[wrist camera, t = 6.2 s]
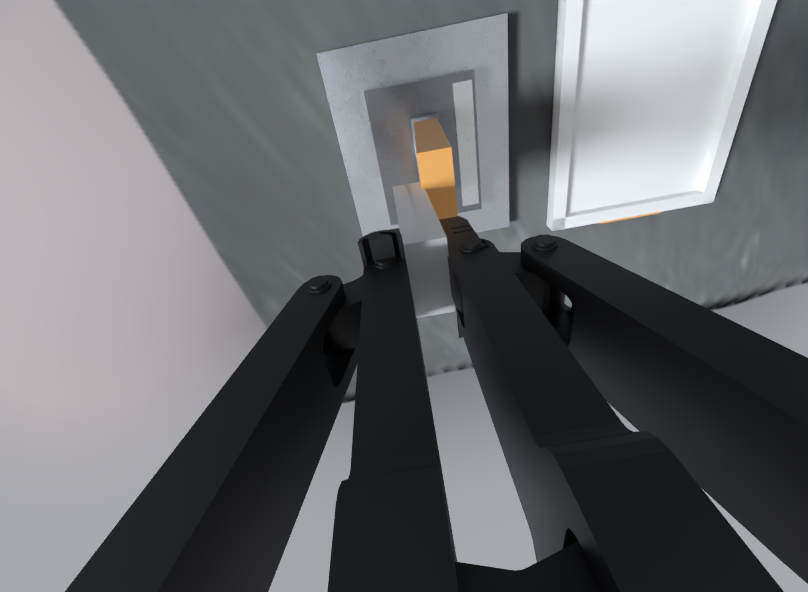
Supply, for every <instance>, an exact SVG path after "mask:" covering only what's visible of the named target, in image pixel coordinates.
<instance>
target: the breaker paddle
mask: <svg viewBox="0 0 808 592" xmlns="http://www.w3.org/2000/svg"><path fill="white" fill-rule="evenodd" d="M410 120H411V127H412V134H413V140H414V147H415V154H416V161H417V168H418V174H419V181H420V182H421V189H425V190H426V193H427V195H428V197H429V199H430V201H431V204H432V206H433V208H434V210H435V212H436V215H437V217H438V219H445V218H450V217H456V216H458V212H457V201H456V190H455V179H454V168H453V158H452V147H451V145H450V143H449V141H448V139H447V137H446V135H445V133H444V131H443V129H442V127H441V125H440V119H439V114H438V113H433V114H426V115H421V116H417V117H413V118H411V119H410Z"/></svg>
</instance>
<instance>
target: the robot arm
mask: <svg viewBox="0 0 808 592" xmlns="http://www.w3.org/2000/svg"><path fill="white" fill-rule="evenodd" d="M393 193H394V199H395V205H396V211H397V217H398V224H399V228H395V229H390V230H380V231H376V232H372V233H369V234H367V235H365V236H363V237H362V238H361V239H360V240H359V241H358V246H359V249H360V253H361V257H362V261H363V265H364V274H363V276H361V277H360V278H358V279H356V280H354V281H352V282H349V283H346V284H342V281H341V279H340V278H339V277H337V276H332V275H326V276H317V277H314V278H312V279H310V280H309V281H307V282H305V283H304V284H303V285H302V286H301V287H299V289H298V290H297V291H296V293H295V294H294V295H293V297H292V298H291V299H290V300H289V302H288V303H287V304H286V306H285V307H284V308H283V309H282V311H281V312H280V313H279V315H278V316H277V317H276V319H275V320H274V321H273V322H272V324H271V325H270V326H269V328H268V329H267V330H266V332H265V333H264V334H263V335H262V337H261V338H260V339H259V341H258V342H257V343H256V345H255V346H254V347H253V348H252V350H251V351H250V352H249V354H248V355H247V356H246V357H245V359H244V360H243V361H242V363H241V364H240V365H239V367H238V368H237V369H236V370H235V372H234V373H233V374H232V376H231V377H230V378H229V380H228V381H227V382H226V384H225V385H224V386H223V387H222V389H221V390H220V391H219V393H218V394H217V395H216V397H215V398H214V399H213V400H212V402H211V403H210V404H209V405H208V407H207V408H206V410H205V411H204V412H203V413H202V415H201V416H200V417H199V418H198V420H197V421H196V422H195V424H194V425H193V426H192V427H191V429H190V430H189V432H188V433H187V434H186V435H185V437H184V438H183V439H182V440H181V442H180V443H179V444H178V446H177V447H176V448H175V450H174V451H173V452H172V453H171V455H170V456H169V457H168V459H167V460H166V461H165V462H164V464H163V465H162V467H161V468H160V469H159V470H158V472H157V473H156V474H155V476H154V477H153V478H152V479H151V481H150V482H149V483H148V485H147V486H146V487H145V488H144V490H143V491H142V492H141V494H140V495H139V496H138V498H137V499H136V500H135V502H134V503H133V504H132V505H131V507H130V508H129V509H128V510H127V512H126V513H125V514H124V516H123V517H122V518H121V520H120V521H119V522H118V524H117V525H116V526H115V527H114V529H113V530H112V531H111V533H110V534H109V535H108V536H107V538H106V539H105V540H104V542H103V543H102V544H101V545H100V547H99V548H98V549H97V551H96V552H95V553H94V555H93V556H92V557H91V558H90V560H89V561H88V562H87V564H86V565H85V566H84V568H83V569H82V570H81V572H80V573H79V574H78V575H77V577H76V578H75V579H74V581H73V582H72V583H71V584H70V586H69V587H68V588H67V590H66V591H65V592H268V591H269V588H270V586H271V583H272V581H273V578H274V575H275V573H276V570H277V568H278V565H279V563H280V560H281V558H282V555H283V552H284V550H285V547H286V545H287V542H288V540H289V537H290V535H291V532H292V529H293V527H294V524H295V522H296V519H297V517H298V514H299V511H300V509H301V506H302V504H303V501H304V499H305V496H306V494H307V491H308V488H309V486H310V483H311V480H312V478H313V475H314V473H315V470H316V468H317V465H318V463H319V460H320V458H321V455H322V453H323V450H324V448H325V445H326V442H327V440H328V437H329V435H330V432H331V430H332V427H333V424H334V422H335V419H336V417H337V414H338V411H339V409H340V407H341V404H342V401H343V399H344V396H345V394H346V391H347V389H348V386H349V384H350V381H351V378H352V376H353V373H354V371H355V368H356V366H357V363H358V366H357V381H356V396H355V412H354V427H353V443H352V458H351V471H350V475H349V478H348V479H347V480H344V481H342V482H341V484H340V487H339V490H338V495H337V501H336V509H335V520H334V530H333V540H332V552H331V561H330V572H329V583H328V592H783V590H782V589H781V588H780V586H779V585H778V584H777V583H776V582H775V580H774V579H773V578H772V577H771V575H770V574H769V573H768V572H767V570H766V569H765V568H764V567H763V565H762V564H761V563H760V561H759V560H758V559H757V558H756V556H755V555H754V554H753V553H752V551H751V550H750V549H749V548H748V546H747V545H746V544H745V543H744V541H743V540H742V539H741V538H740V536H739V535H738V534H737V533H736V531H735V530H734V529H733V528H732V526H731V525H730V524H729V523H728V521H727V520H726V519H725V518H724V516H723V515H722V514H721V513H720V511H719V510H718V509H717V507H716V506H715V505H714V504H713V503H712V501H711V500H710V499H709V497H708V496H707V495H706V494H705V492H707V493H708V494H709V495H710V496H711V497H712V498H713V499H714V500H715V501H716V502H717V503H719V504H720V505H721V506H722V507H723V508H724V509H725V510H726V511H727V512H728V513H730V514H731V515H732V516H733V517H734V518H735V519H736V520H737V521H738V522H739V523H741V524H742V525H743V526H744V527H745V528H746V529H747V530H748V531H749V532H750V533H751V534H752V535H754V536H755V537H756V538H757V539H758V540H759V541H760V542H761V543H762V544H763V545H765V546H766V547H767V548H768V549H769V550H770V551H771V552H772V553H773V554H774V555H776V556H777V557H778V558H779V559H780V560H781V561H782V562H783V563H784V564H786V565H787V566H788V567H789V568H790V569H791V570H793V571H794V572H795V573H796V574H797V575H798V576H799V577H801V578H802V579H803V580H804V581H805V582H806V583H808V358H807V357H805V356H803V355H800V354H798V353H796V352H794V351H792V350H790V349H788V348H786V347H784V346H782V345H780V344H778V343H776V342H774V341H772V340H770V339H768V338H766V337H763V336H762V335H760V334H758V333H756V332H754V331H751V330H749V329H747V328H745V327H743V326H741V325H739V324H737V323H735V322H733V321H731V320H729V319H727V318H725V317H723V316H721V315H719V314H717V313H715V312H713V311H711V310H709V309H707V308H704V307H702V306H700V305H698V304H696V303H694V302H692V301H690V300H688V299H686V298H684V297H682V296H680V295H678V294H676V293H674V292H672V291H670V290H668V289H666V288H664V287H662V286H660V285H658V284H655V283H653V282H651V281H649V280H647V279H645V278H643V277H641V276H639V275H637V274H635V273H633V272H631V271H629V270H627V269H625V268H623V267H621V266H619V265H617V264H615V263H613V262H611V261H608V260H606V259H604V258H602V257H600V256H598V255H596V254H594V253H592V252H590V251H588V250H586V249H584V248H582V247H580V246H578V245H576V244H574V243H572V242H570V241H568V240H566V239H563V238H560V237H557V236H550V235H544V236H543V235H538V236H535V237H531V238H528V239H526V240H524V241H523V242H522V243H521V252H499V251H498V250H497V249H496V247H495V246H494V244H493V243H492V242H490V241H489V240H485V239H479V237H478V235H477V234H476V232H475V231H474V230H473V228H472V226H471V225H470V223H469V222H468V220H467V219H465V218H462V217H460V216H456V217H450V218H445V219H438V217H437V215H436V212H435V210H434V208H433V206H432V204H431V201H430V199H429V197H428V195H427V193H426V190H425V189H421V182H415V183H410V184H404V185H399V186H393ZM565 295H566V296H567V297H569V299H570V301H571V302H572V307H571V308H570V307H568V306H567V305H566V304H564V301H565ZM453 301H454V302H453ZM454 303H455V306H456V312H457V322H458V331H459V338H462V337H463V338H464V340H465V343H466V346H467V349H468V352H469V355H470V358H471V361H472V363H473V366H474V369H475V372H476V375H477V378H478V381H479V384H480V387H481V389H482V392H483V395H484V398H485V401H486V404H487V407H488V409H489V412H490V415H491V418H492V421H493V424H494V427H495V430H496V432H497V435H498V438H499V441H500V444H501V447H502V450H503V452H504V456H505V458H506V461H507V464H508V467H509V470H510V473H511V476H512V478H513V482H514V484H515V487H516V490H517V493H518V496H519V499H520V502H521V504H522V508H523V510H524V513H525V516H526V519H527V522H528V525H529V528H530V531H531V535H532V539H533V544H534V549H535V554H536V560H537V563H535V564H533V565H532V566H530V567H528V568H526V569H523V570H517V571H514V570H506V569H500V568H493V567H487V566H480V565H473V564H467V563H460V562H457V558H456V553H455V546H454V541H453V535H452V529H451V523H450V517H449V511H448V505H447V498H446V492H445V486H444V480H443V474H442V469H441V463H440V457H439V450H438V445H437V439H436V432H435V427H434V420H433V414H432V408H431V403H430V397H429V391H428V384H427V378H426V372H425V366H424V360H423V354H422V348H421V342H420V336H419V330H418V324H417V319H416V318H420V317H425V316H431V315H437V314H443V313H449V312H454ZM607 402H608V403H609V404H610V405H611V406H612V407H614V408H615V409H616V410H617V411H618V412H619V413H620V414H621V415H622V416H624V417H625V418H626V419H627V420H628V421H629V422H630V423H631V424H632V425H633V426H634V427H635V428H637V429H638V430H639V431H640V432H632V431H630V430H629V429H627V428H626V427H625V426H624V424H623V423H622V422H621V421H620V419H619V418H618V416H617V415H616V414H615V412H614V411H613V410H612V409H611V407H610V405H609V404H608V403H607ZM701 488H702V489H703V490H704V491H705V492H704V491H703V490H702V489H701Z"/></svg>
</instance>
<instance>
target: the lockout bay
mask: <svg viewBox="0 0 808 592" xmlns="http://www.w3.org/2000/svg"><path fill="white" fill-rule="evenodd" d="M776 2H777V0H559V2H558V21H557V40H556V58H555V77H554V96H553V115H552V134H551V153H550V172H549V191H548V209H547V226H548V227H549V228H550V229H551V230H552V231H555V230H561V229H566V228H572V227H578V226H583V225H589V224H594V223H599V224H602V223H608V222H613V221H619V220H624V219H630V218H636V217H641V216H647V215H652V214H658V213H661V211H667V210H673V209H678V208H684V207H689V206H695V205H701V204H706V203H712V202H713V201H714V198H715V195H716V192H717V189H718V186H719V182H720V179H721V176H722V173H723V170H724V167H725V163H726V160H727V157H728V154H729V151H730V148H731V145H732V141H733V138H734V135H735V132H736V129H737V126H738V122H739V119H740V116H741V113H742V110H743V107H744V104H745V100H746V97H747V94H748V91H749V88H750V85H751V81H752V78H753V75H754V72H755V69H756V66H757V62H758V59H759V56H760V53H761V50H762V47H763V44H764V40H765V37H766V34H767V31H768V28H769V25H770V21H771V18H772V15H773V12H774V9H775V6H776Z"/></svg>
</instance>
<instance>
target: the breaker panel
mask: <svg viewBox="0 0 808 592" xmlns="http://www.w3.org/2000/svg"><path fill="white" fill-rule="evenodd" d="M316 54H317V58H318V62H319V66H320V70H321V74H322V78H323V81H324V85H325V89H326V93H327V97H328V101H329V105H330V109H331V113H332V117H333V121H334V125H335V128H336V132H337V136H338V140H339V144H340V148H341V152H342V156H343V160H344V164H345V168H346V171H347V175H348V179H349V183H350V187H351V191H352V195H353V199H354V203H355V207H356V211H357V214H358V218H359V222H360V226H361V230H362V234H363V236H365V235H367V234H369V233H372V232H376V231H380V230H390V229H395V228H399V224H398V217H397V211H396V205H395V199H394V193H393V186H399V185H404V184H410V183H415V182H420V181H419V174H418V168H417V161H416V154H415V147H414V140H413V134H412V127H411V120H410V119H411V118H413V117H417V116H421V115H426V114H433V113H438V114H439V119H440V125H441V127H442V129H443V131H444V133H445V135H446V137H447V139H448V141H449V143H450V145H451V147H452V158H453V168H454V179H455V190H456V201H457V212H458V216H460V217H462V218H465V219H467V220H468V222H469V223H470V225H471V226H472V228H473V230H474V231H475V232H482V231H487V230H493V229H499V228H504V227H509V126H508V13H505V14H500V15H496V16H491V17H486V18H482V19H477V20H472V21H467V22H463V23H458V24H453V25H448V26H444V27H439V28H434V29H430V30H425V31H420V32H415V33H411V34H406V35H401V36H397V37H392V38H387V39H382V40H378V41H373V42H368V43H364V44H359V45H354V46H349V47H345V48H340V49H335V50H331V51H326V52H321V53H316Z"/></svg>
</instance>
